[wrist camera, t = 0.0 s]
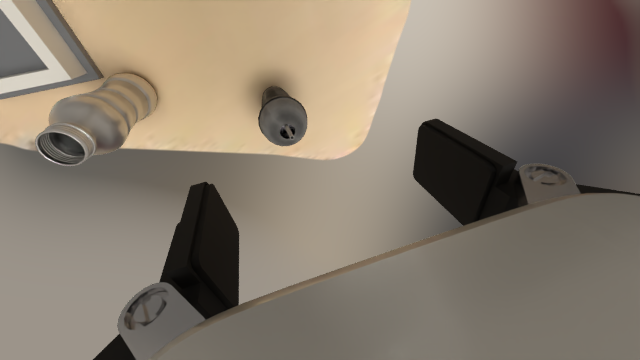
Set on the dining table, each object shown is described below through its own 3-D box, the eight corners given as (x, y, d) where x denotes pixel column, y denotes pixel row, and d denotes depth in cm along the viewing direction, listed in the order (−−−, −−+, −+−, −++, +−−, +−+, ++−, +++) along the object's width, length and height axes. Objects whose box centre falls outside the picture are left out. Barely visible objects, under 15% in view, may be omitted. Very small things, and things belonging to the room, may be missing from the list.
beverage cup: (259, 120, 45) (269, 177, 30) (250, 81, 41) (255, 123, 25) (296, 114, 46) (324, 165, 31) (290, 75, 42) (320, 112, 26)
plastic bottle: (115, 109, 38) (27, 177, 22) (107, 64, 34) (-4, 107, 19) (162, 116, 40) (112, 181, 25) (159, 75, 37) (98, 120, 21)
